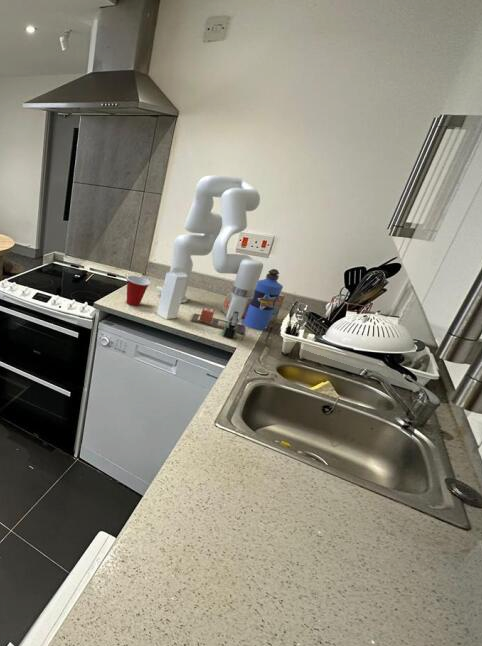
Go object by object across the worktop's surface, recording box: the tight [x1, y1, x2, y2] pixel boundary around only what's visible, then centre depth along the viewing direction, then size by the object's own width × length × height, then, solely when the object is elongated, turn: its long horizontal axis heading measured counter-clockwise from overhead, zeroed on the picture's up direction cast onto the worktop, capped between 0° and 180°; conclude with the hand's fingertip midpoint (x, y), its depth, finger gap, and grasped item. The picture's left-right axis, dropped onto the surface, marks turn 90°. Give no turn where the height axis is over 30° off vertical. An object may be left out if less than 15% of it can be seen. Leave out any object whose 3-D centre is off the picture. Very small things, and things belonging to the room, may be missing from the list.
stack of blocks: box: [221, 292, 285, 322], centre depth 176 cm, size 21×6×12 cm, turn 84°
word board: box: [190, 313, 245, 335], centre depth 167 cm, size 20×10×1 cm, turn 59°
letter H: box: [200, 307, 215, 323], centre depth 168 cm, size 4×4×5 cm
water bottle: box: [242, 268, 284, 331], centre depth 163 cm, size 9×9×25 cm
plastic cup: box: [126, 275, 152, 307], centre depth 179 cm, size 11×11×12 cm
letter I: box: [221, 321, 238, 340], centre depth 156 cm, size 4×4×5 cm
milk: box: [156, 267, 187, 320], centre depth 166 cm, size 6×6×22 cm
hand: (228, 334), depth 156 cm, fingers closed on letter I, 4 cm apart
